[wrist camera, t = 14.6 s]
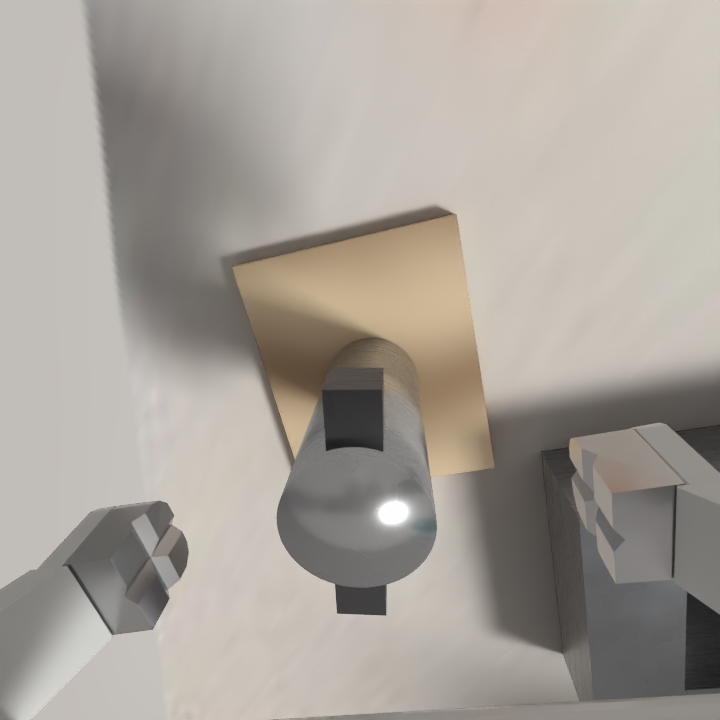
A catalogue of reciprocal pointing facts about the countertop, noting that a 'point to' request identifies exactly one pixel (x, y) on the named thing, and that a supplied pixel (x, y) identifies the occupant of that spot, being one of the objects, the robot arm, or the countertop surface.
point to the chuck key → (362, 479)
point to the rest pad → (375, 328)
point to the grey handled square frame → (626, 606)
